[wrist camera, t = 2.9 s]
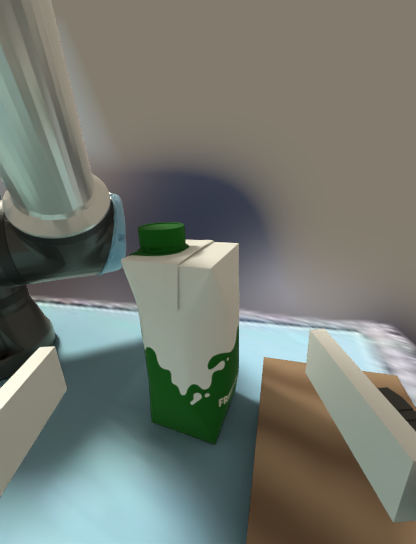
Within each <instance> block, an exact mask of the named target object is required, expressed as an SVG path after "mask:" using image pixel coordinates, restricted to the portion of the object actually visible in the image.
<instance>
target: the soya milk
mask: <svg viewBox="0 0 416 544" xmlns="http://www.w3.org/2000/svg"><path fill="white" fill-rule="evenodd" d="M138 233H139V241H140V247H141V248H140V249H138V250H137V252H134V253H132V254H130V255H129V256H128V257H125V258H123V259H121V263H122V266H123V269H124V271H125V273H126V276H127V279H128V281H129V284H130V286H131V289H132V291H133V294H134V297H135V300H136V302H137V306H138V312H139V318H140V325H141V332H142V338H143V345H144V351H145V358H146V365H147V371H148V378H149V391H150V405H151V419H152V422H153V423H156V424H159V425H162V426H164V427H167V428H170V429H173V430H176V431H178V432H181V433H184V434H187V435H190V436H193V437H195V438H198V439H201V440H204V441H207V442H209V443H212V444H216V441H217V438H218V436H219V433H220V430H221V427H222V425H223V422H224V419H225V416H226V414H227V411H228V408H229V405H230V403H231V400H232V397H233V394H234V392H235V387H236V382H237V377H238V369H239V266H238V265H239V259H238V257H239V255H238V254H239V252H238V251H239V244H238V243H222V242H214V241H213V240H186V239H185V227H184V224H182V223H177V222H163V223H152V224H146V225H142V226H140V227H138Z"/></svg>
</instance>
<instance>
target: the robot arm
mask: <svg viewBox="0 0 416 544" xmlns="http://www.w3.org/2000/svg"><path fill="white" fill-rule="evenodd" d="M0 179H1V180H2V182H3V184H4V185H5V187H6V189H7V191H6V192H5V195H4V197H3V200H1V196H0V380H1V379H4V378H6V377H8V376H11V375H13V374H14V375H13V376H12V377H11V378H10V379H9V380H8V381H7V382H6V383H5V384H4V385H3V386H2V387H1V388H0V497H1V495H2V493H3V492H4V490H5V489H6V487H7V485H8V484H9V482H10V480H11V479H12V477H13V476H14V474H15V472H16V471H17V469H18V468H19V466H20V464H21V463H22V461H23V460H24V458H25V456H26V455H27V453H28V452H29V450H30V448H31V447H32V445H33V444H34V442H35V440H36V439H37V437H38V436H39V434H40V432H41V431H42V429H43V428H44V426H45V424H46V423H47V421H48V419H49V418H50V416H51V415H52V413H53V411H54V410H55V408H56V407H57V405H58V403H59V402H60V400H61V399H62V397H63V395H64V394H65V392H66V391H67V386H66V383H65V379H64V376H63V372H62V369H61V365H60V362H59V358H58V355H57V351H56V348H55V346H52V345H53V343H54V341H55V332H54V329H53V326H52V323H51V321H50V320H49V319H48V318H47V317H46V316H45V315H44V313H43V312H42V311H41V309H40V308H39V307H38V305H37V304H36V303H35V302H34V300H33V299H32V298H31V296H30V295H29V292H28V289H27V285H26V284H32V283H39V282H46V281H53V280H60V279H67V278H74V277H82V276H90V275H102V274H103V273H106V272H112V271H117V270H119V269H120V268H121V267H122V263H121V259H123V258H125V256H126V238H125V219H124V211H123V206H122V202H121V199H120V197H119V196H118V195H116V194H112V193H109V192H108V190H107V187H106V185H105V184H104V183H103V182H102V181H101V180H100V179H99V178H98V177H96V176H95V175H93V174H92V172H91V168H90V163H89V159H88V155H87V151H86V147H85V142H84V139H83V134H82V130H81V125H80V121H79V117H78V113H77V109H76V104H75V100H74V96H73V92H72V88H71V83H70V79H69V75H68V70H67V67H66V62H65V58H64V54H63V49H62V45H61V41H60V37H59V33H58V29H57V24H56V20H55V16H54V12H53V7H52V3H51V0H0ZM51 346H52V347H51ZM305 373H306V374H307V376H308V378H309V379H310V381H311V383H312V385H313V386H314V388H315V390H316V391H317V393H318V395H319V397H320V398H321V400H322V402H323V403H324V405H325V407H326V409H327V410H328V412H329V414H330V415H331V417H332V419H333V421H334V422H335V424H336V426H337V427H338V429H339V431H340V432H341V434H342V436H343V438H344V439H345V441H346V443H347V444H348V446H349V448H350V450H351V451H352V453H353V455H354V456H355V458H356V460H357V462H358V463H359V465H360V467H361V468H362V470H363V472H364V474H365V475H366V477H367V479H368V480H369V482H370V484H371V485H372V487H373V489H374V491H375V492H376V494H377V496H378V497H379V499H380V501H381V503H382V504H383V506H384V508H385V509H386V511H387V513H388V515H389V516H390V518H391V520H392V521H393V523H395V522H406V521H416V411H414V410H413V408H412V407H411V406H410V405H409V404H408V403H407V402H406V401H405V399H404V398H403V397H401V396H400V395H398V394H397V393H395V392H394V391H392V390H391V389H389V388H388V387H383V388H377V387H376V386H375V385H374V384H373V383H372V382H371V381H370V380H369V379H368V377H367V376H366V375H365V374H364V373H363V372H362V371H361V370H360V368H359V367H358V366H357V365H356V364H355V363H354V362H353V361H352V359H351V358H350V357H349V356H348V355H347V354H346V353H345V352H344V350H343V349H342V348H341V347H340V346H339V345H338V344H337V343H336V341H335V340H334V339H333V338H332V337H331V336H330V335H329V334H328V333H327V331H326V330H325V329H315V330H310V333H309V343H308V353H307V362H306V372H305Z"/></svg>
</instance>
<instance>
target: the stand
mask: <svg viewBox="0 0 416 544" xmlns="http://www.w3.org/2000/svg"><path fill="white" fill-rule="evenodd" d="M305 372H306V363H302V362H295V361H288V360H280V359H273V358H266V357H264V362H263V373H262V383H261V394H260V404H259V415H258V425H257V436H256V446H255V456H254V467H253V477H252V488H251V498H250V509H249V519H248V530H247V540H246V544H416V521H406V522H395V523H393V521H392V520H391V518H390V516H389V515H388V513H387V511H386V509H385V508H384V506H383V504H382V503H381V501H380V499H379V497H378V496H377V494H376V492H375V491H374V489H373V487H372V485H371V484H370V482H369V480H368V479H367V477H366V475H365V474H364V472H363V470H362V468H361V467H360V465H359V463H358V462H357V460H356V458H355V456H354V455H353V453H352V451H351V450H350V448H349V446H348V444H347V443H346V441H345V439H344V438H343V436H342V434H341V432H340V431H339V429H338V427H337V426H336V424H335V422H334V421H333V419H332V417H331V415H330V414H329V412H328V410H327V409H326V407H325V405H324V403H323V402H322V400H321V398H320V397H319V395H318V393H317V391H316V390H315V388H314V386H313V385H312V383H311V381H310V379H309V378H308V376H307V374H306V373H305ZM362 372H363V373H364V374H365V375H366V376H367V377H368V379H369V380H370V381H371V382H372V383H373V384H374V385H375V386H376V387H377V388H383V387H388V388H389V389H391V390H392V391H394V392H395V393H397V394H398V395H400V396H401V397H403V398H404V399H405V401H406V402H407V403H408V404H409V405H410V406H411V407H412V408H413V410H414V411H416V408H415V406H414V404H413V403H412V401H411V399H410V398H409V396H408V394H407V392H406V391H405V389H404V387H403V386H402V384H401V382H400V380H399V379H398V377H397V376H395V375H388V374H380V373H373V372H366V371H362Z"/></svg>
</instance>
